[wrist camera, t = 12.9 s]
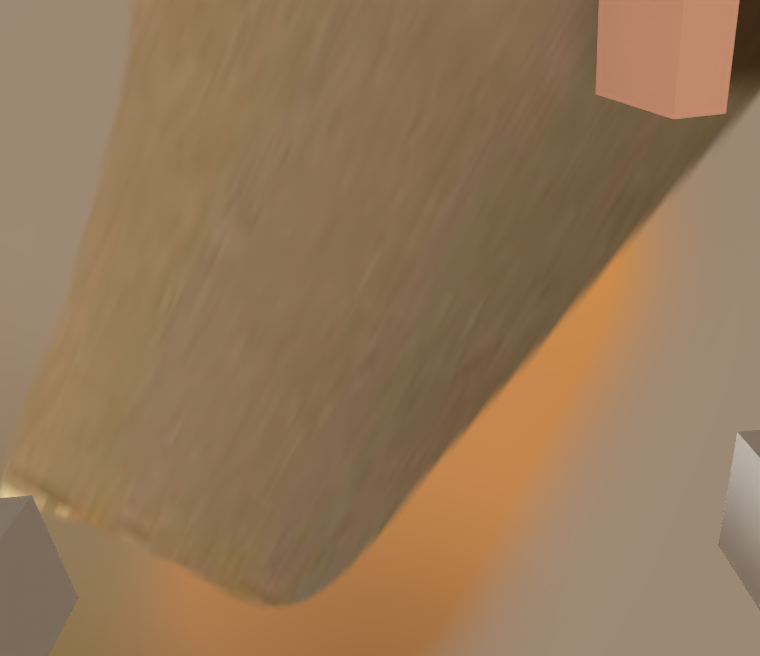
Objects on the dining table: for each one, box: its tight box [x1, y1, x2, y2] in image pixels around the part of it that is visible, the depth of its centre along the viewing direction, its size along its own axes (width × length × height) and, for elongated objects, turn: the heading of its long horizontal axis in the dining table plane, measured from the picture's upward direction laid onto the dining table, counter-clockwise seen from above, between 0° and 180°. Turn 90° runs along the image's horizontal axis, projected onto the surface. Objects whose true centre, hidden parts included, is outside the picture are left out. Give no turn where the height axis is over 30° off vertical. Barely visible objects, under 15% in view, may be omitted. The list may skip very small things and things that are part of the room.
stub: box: [596, 0, 740, 119], centre depth 28 cm, size 7×2×10 cm, turn 6°
